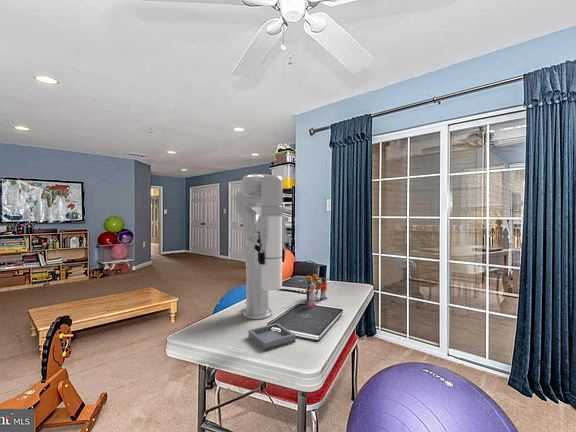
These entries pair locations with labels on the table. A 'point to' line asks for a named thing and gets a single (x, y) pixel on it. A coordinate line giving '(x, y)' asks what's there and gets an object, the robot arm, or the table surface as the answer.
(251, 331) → the tray
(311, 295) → the doll family
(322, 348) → the table surface
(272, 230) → the cylindrical container
